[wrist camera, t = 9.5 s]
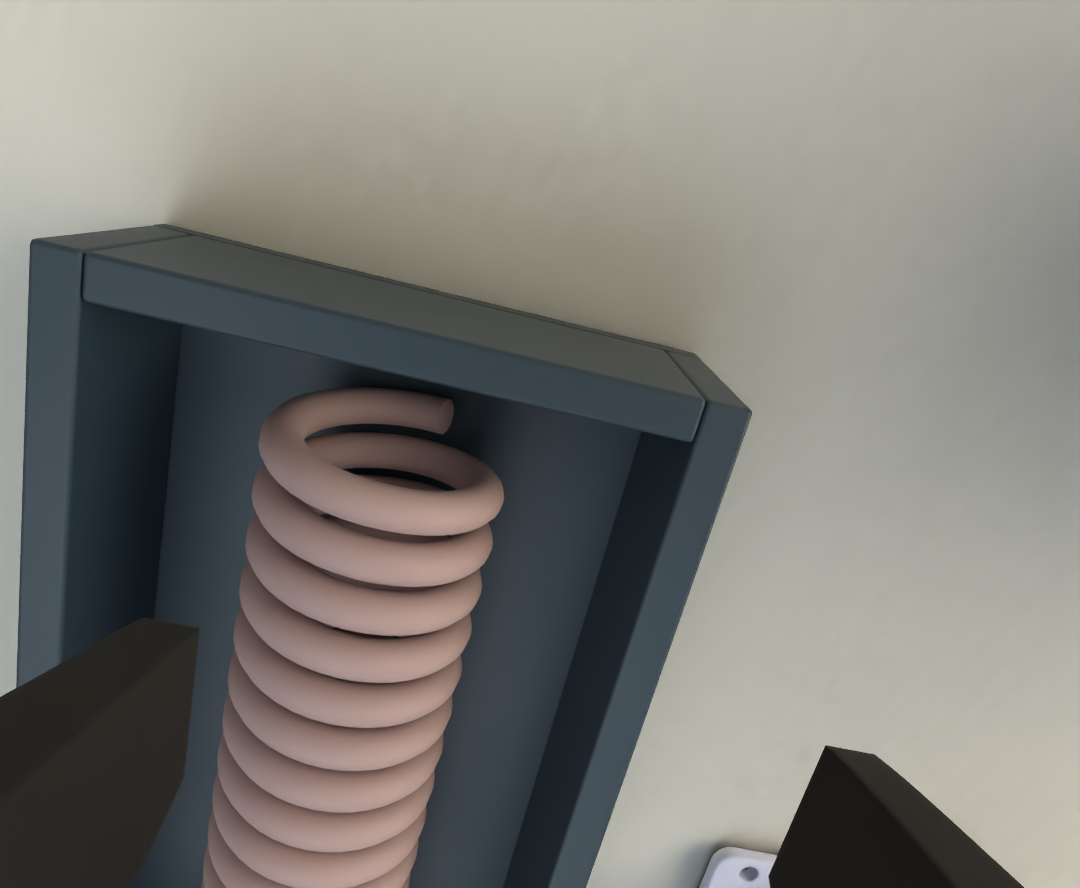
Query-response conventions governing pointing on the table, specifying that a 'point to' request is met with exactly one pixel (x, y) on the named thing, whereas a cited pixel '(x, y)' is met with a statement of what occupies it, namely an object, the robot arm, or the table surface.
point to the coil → (346, 643)
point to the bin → (375, 362)
